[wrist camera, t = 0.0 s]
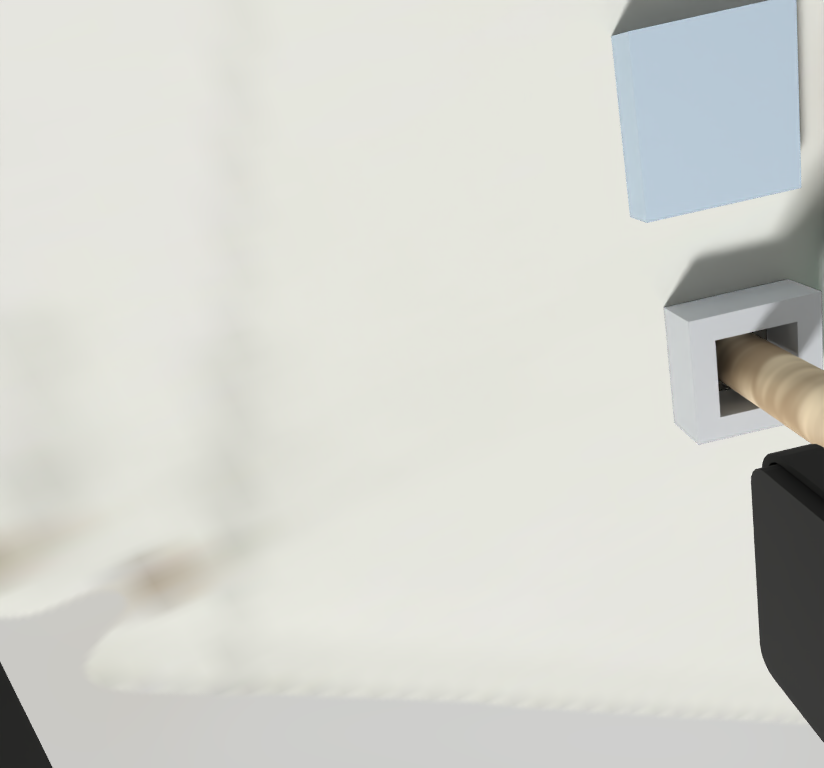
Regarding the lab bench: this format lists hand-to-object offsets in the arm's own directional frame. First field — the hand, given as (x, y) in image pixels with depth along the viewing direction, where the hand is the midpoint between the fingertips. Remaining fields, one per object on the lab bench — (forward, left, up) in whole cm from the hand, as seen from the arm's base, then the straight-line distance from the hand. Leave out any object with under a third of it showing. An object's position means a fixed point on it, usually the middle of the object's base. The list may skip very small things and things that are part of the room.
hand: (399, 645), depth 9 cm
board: (-2, +21, -37) cm, 43 cm away
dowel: (+13, +22, -37) cm, 45 cm away
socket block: (+13, +22, -37) cm, 45 cm away
